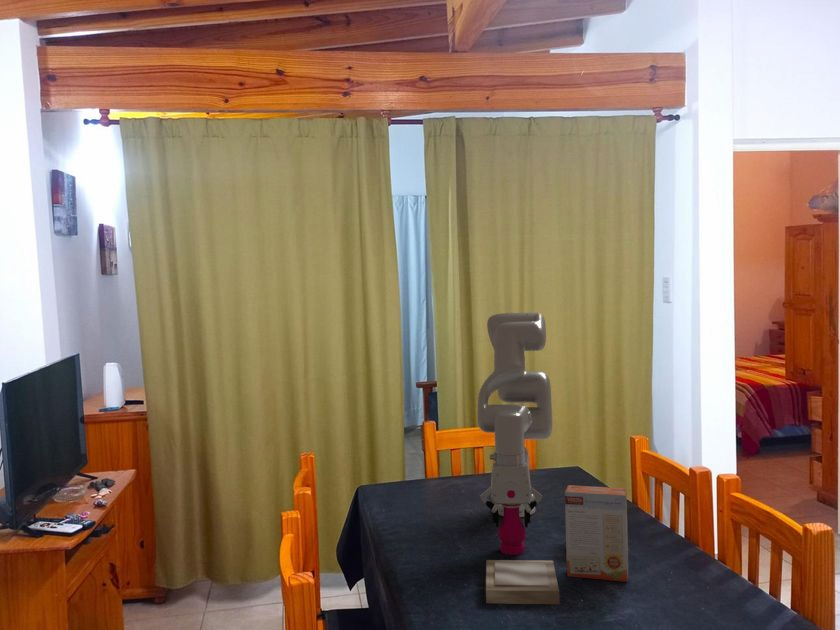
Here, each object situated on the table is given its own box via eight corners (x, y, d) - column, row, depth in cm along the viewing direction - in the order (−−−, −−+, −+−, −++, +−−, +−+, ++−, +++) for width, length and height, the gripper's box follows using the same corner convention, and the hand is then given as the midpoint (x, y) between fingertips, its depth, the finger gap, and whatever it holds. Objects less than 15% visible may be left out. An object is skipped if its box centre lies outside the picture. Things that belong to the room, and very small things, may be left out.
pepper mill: (525, 556, 182) (523, 480, 181) (497, 555, 184) (495, 479, 182) (527, 545, 190) (525, 471, 188) (499, 544, 191) (497, 471, 189)
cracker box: (628, 572, 171) (627, 487, 170) (627, 583, 166) (626, 495, 164) (569, 566, 176) (567, 483, 174) (566, 576, 170) (564, 491, 169)
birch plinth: (486, 572, 174) (486, 558, 174) (553, 572, 173) (552, 558, 172) (486, 603, 158) (485, 588, 158) (559, 604, 157) (559, 589, 156)
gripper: (476, 463, 182) (478, 531, 183) (544, 462, 180) (546, 531, 182) (476, 455, 190) (478, 520, 191) (542, 454, 188) (544, 520, 189)
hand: (511, 525), depth 186 cm, fingers open, 6 cm apart
